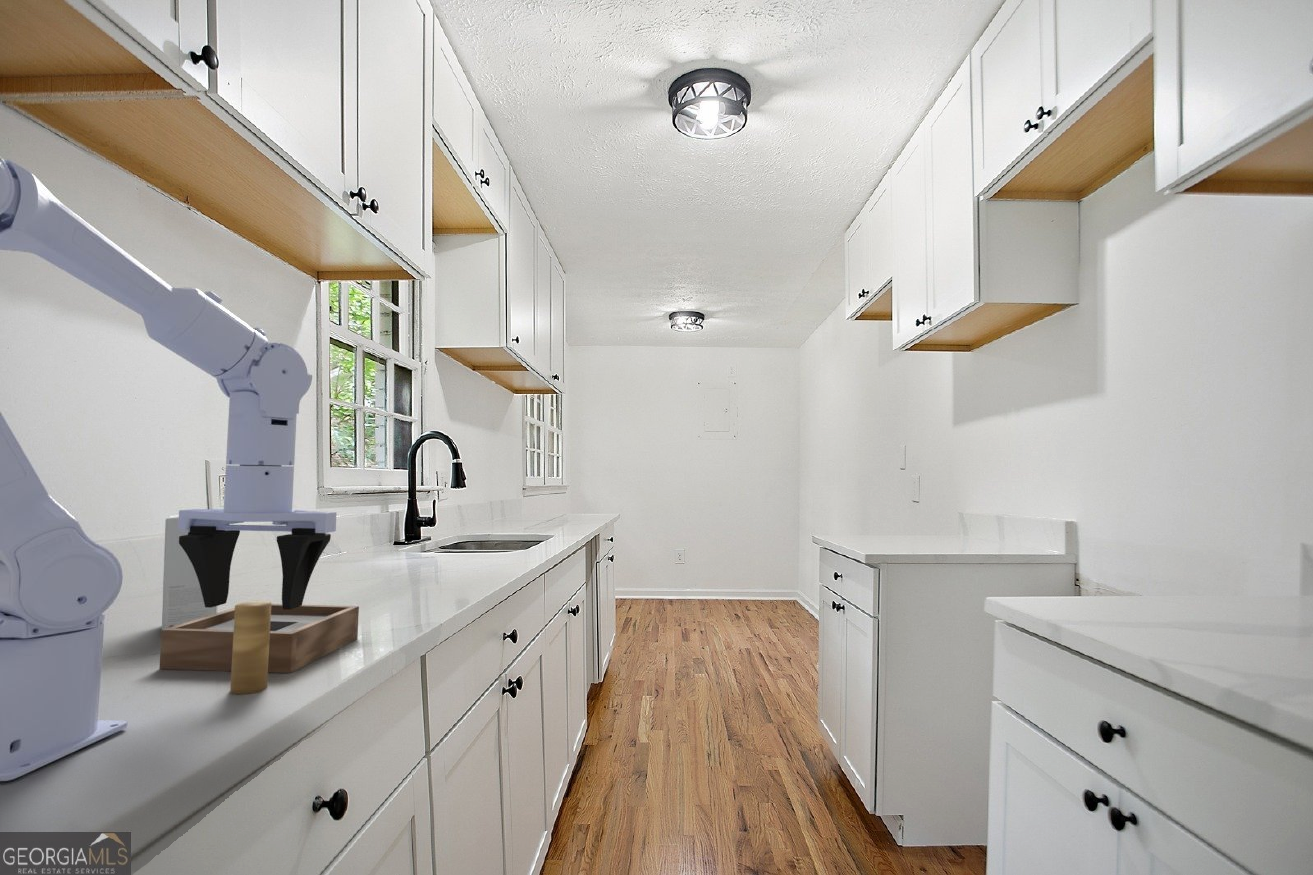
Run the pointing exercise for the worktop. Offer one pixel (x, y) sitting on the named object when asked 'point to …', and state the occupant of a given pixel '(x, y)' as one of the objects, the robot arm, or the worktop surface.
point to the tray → (290, 645)
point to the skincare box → (180, 582)
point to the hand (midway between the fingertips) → (253, 606)
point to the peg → (250, 647)
